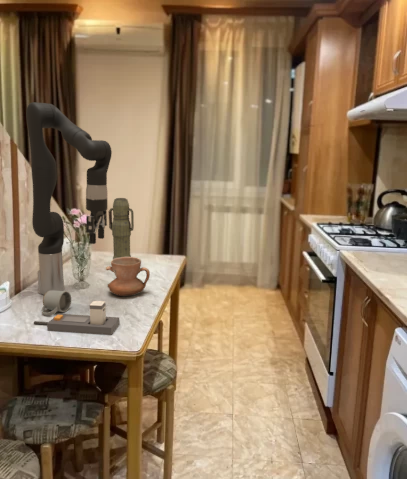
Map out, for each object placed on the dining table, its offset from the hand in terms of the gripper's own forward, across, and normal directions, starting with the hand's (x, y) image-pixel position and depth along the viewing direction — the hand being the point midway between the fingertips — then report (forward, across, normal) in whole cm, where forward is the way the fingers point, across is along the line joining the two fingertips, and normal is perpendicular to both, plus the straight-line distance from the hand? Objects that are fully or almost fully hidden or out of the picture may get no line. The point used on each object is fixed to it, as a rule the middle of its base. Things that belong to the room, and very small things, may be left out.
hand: (96, 240), depth 170 cm
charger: (+26, +19, +7) cm, 33 cm away
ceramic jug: (+26, -18, +7) cm, 32 cm away
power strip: (+26, +19, -1) cm, 32 cm away
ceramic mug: (+27, +7, -14) cm, 31 cm away
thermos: (+27, -50, -6) cm, 57 cm away
